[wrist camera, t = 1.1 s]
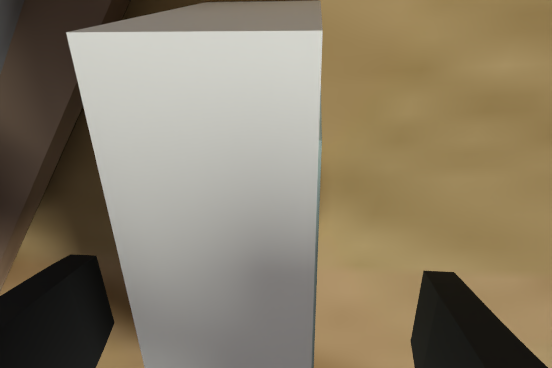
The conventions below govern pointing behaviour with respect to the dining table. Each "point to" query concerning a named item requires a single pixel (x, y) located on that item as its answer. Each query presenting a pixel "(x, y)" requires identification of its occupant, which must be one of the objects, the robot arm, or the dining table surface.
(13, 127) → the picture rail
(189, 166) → the tall cream box
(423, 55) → the dining table surface
